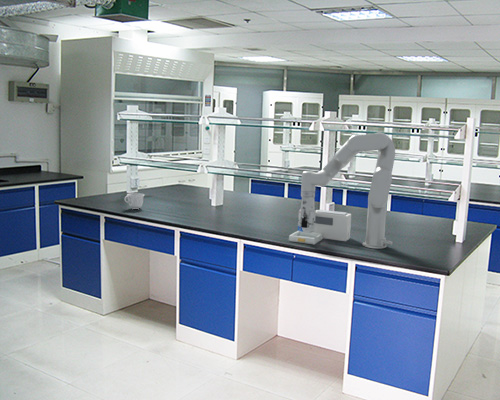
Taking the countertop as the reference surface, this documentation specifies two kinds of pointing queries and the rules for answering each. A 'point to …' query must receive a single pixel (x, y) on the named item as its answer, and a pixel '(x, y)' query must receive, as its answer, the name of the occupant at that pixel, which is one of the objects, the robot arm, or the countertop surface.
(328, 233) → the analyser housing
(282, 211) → the countertop surface
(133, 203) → the teacup
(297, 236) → the tray
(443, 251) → the countertop surface
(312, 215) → the ink box
